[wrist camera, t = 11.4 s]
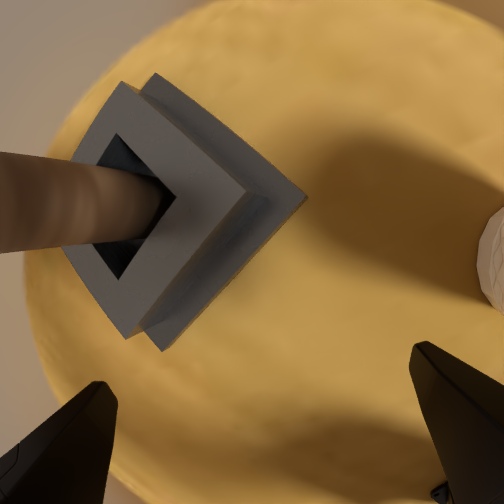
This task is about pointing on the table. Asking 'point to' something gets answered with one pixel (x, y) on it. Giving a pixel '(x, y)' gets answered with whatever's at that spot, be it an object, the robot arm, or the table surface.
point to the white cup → (492, 261)
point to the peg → (74, 203)
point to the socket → (178, 210)
